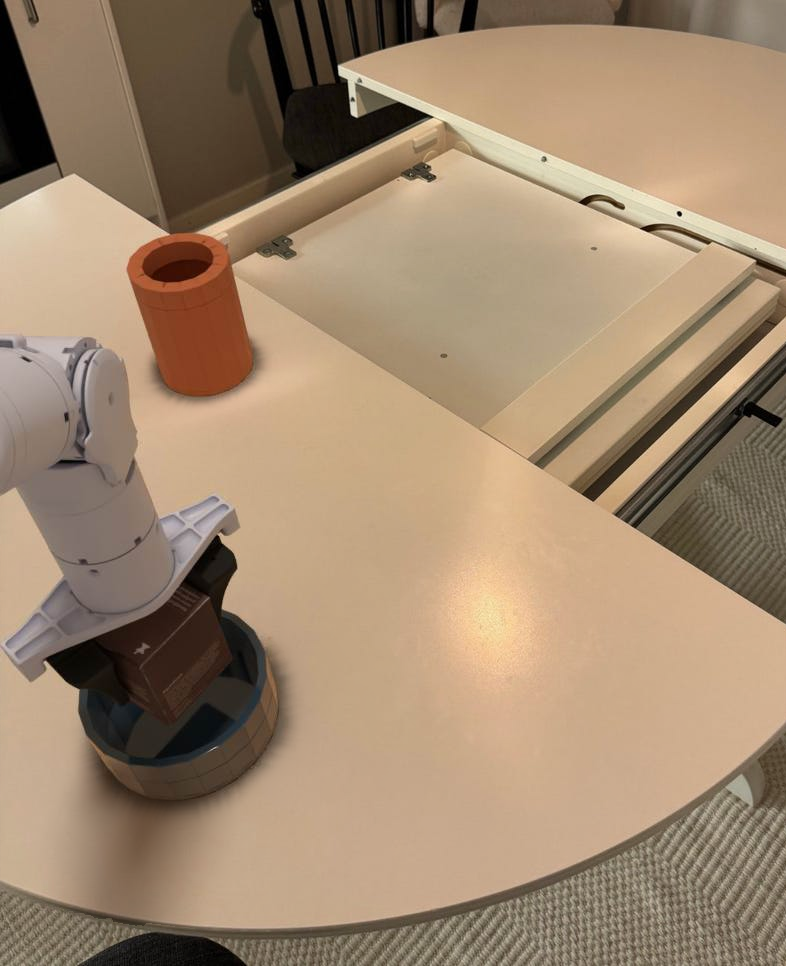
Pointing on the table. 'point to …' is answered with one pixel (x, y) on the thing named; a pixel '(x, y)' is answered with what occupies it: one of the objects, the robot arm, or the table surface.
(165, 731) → the bowl
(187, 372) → the jar
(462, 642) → the table surface
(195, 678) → the box
